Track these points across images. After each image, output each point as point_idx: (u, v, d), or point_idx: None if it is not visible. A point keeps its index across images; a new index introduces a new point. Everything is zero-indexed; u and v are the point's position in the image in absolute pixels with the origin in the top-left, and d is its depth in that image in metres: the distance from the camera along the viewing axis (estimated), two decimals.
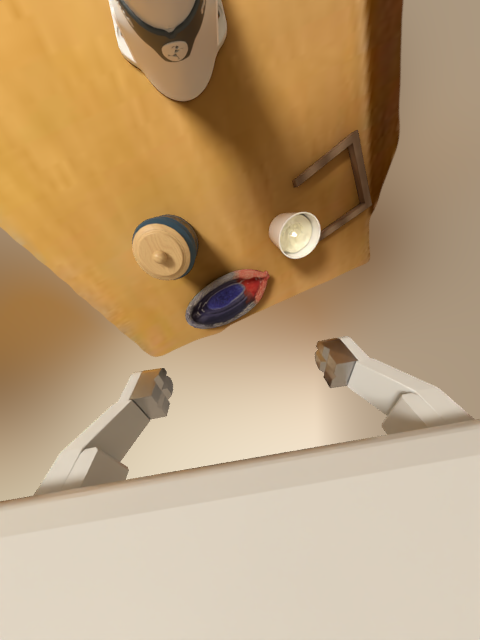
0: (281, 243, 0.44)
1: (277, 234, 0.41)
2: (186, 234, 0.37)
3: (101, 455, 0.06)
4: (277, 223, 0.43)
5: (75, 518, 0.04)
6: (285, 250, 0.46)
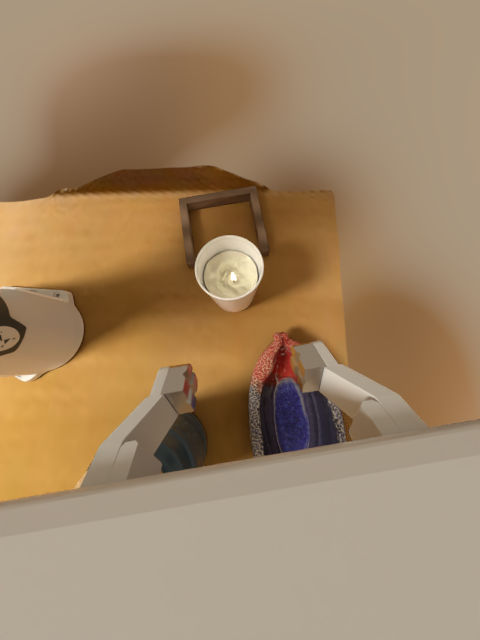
0: (235, 297, 0.28)
1: (213, 298, 0.26)
2: None
3: (141, 448, 0.06)
4: None
5: (75, 518, 0.04)
6: None
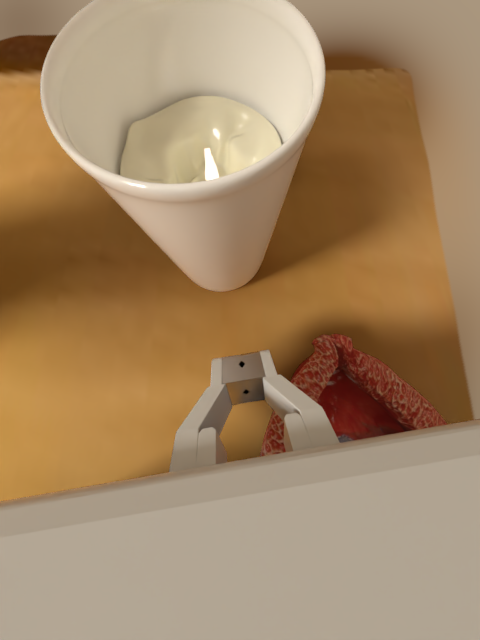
0: None
1: (134, 214, 0.07)
2: None
3: (217, 435, 0.06)
4: None
5: (75, 518, 0.04)
6: None
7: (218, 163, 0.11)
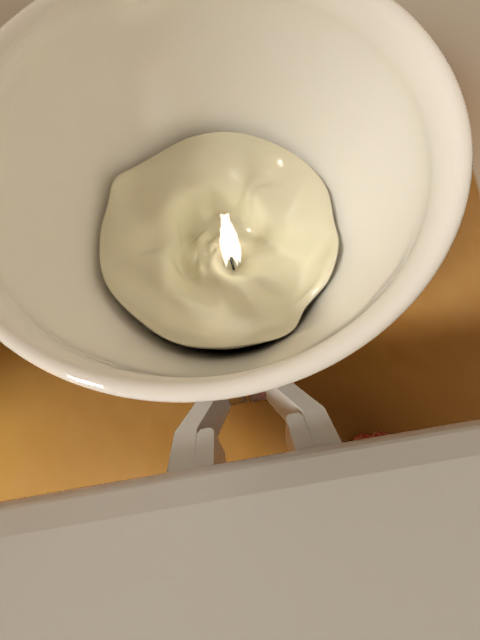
0: (237, 327, 0.07)
1: None
2: None
3: (215, 435, 0.06)
4: None
5: (75, 518, 0.04)
6: (293, 315, 0.07)
7: (235, 214, 0.09)
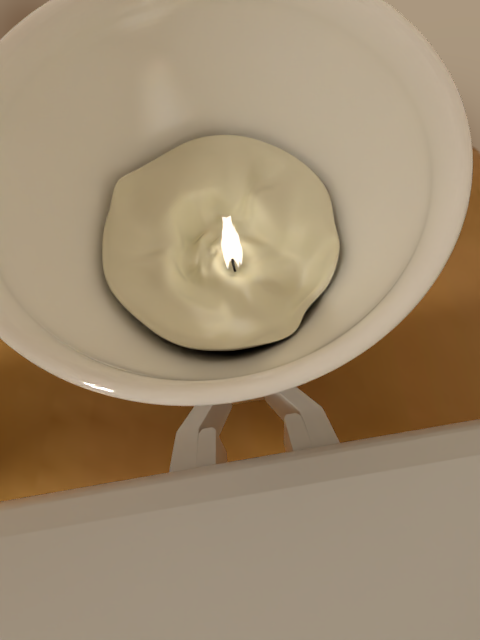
0: (239, 329, 0.07)
1: None
2: None
3: (217, 435, 0.06)
4: None
5: (75, 518, 0.04)
6: (295, 316, 0.07)
7: (236, 216, 0.09)
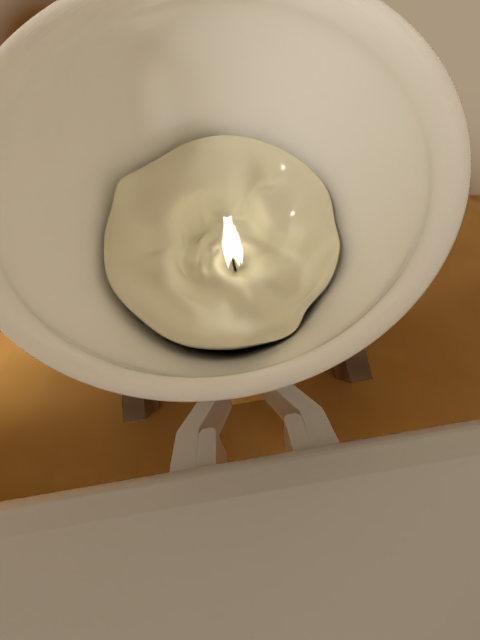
0: (239, 328, 0.07)
1: None
2: None
3: (217, 435, 0.06)
4: None
5: (75, 518, 0.04)
6: (295, 316, 0.07)
7: (236, 216, 0.09)
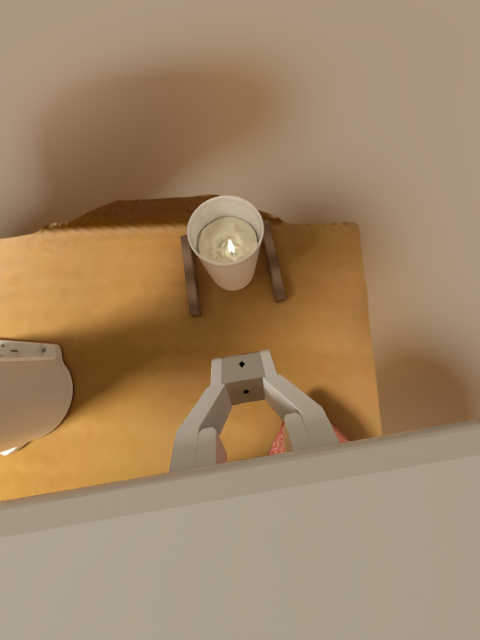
0: None
1: (208, 266, 0.23)
2: None
3: (217, 435, 0.06)
4: None
5: (75, 518, 0.04)
6: None
7: (232, 237, 0.28)
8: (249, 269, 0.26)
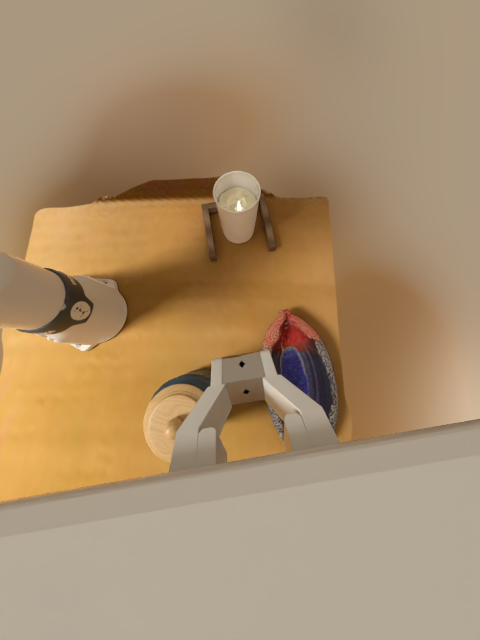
0: None
1: (225, 215, 0.37)
2: (181, 378, 0.30)
3: (217, 435, 0.06)
4: (221, 220, 0.41)
5: (75, 518, 0.04)
6: None
7: (239, 201, 0.41)
8: (251, 221, 0.40)
